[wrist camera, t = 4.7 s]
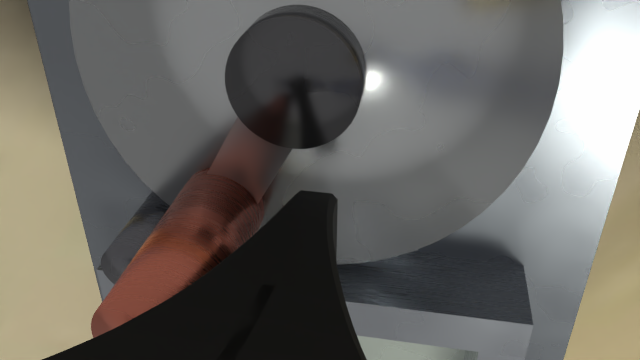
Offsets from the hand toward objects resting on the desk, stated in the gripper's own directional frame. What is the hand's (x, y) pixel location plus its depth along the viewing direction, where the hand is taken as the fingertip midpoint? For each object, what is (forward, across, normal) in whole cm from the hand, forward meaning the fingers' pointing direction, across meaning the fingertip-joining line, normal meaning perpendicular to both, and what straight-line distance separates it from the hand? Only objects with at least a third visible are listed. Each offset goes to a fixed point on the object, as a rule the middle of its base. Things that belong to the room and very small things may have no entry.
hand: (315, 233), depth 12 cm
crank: (+2, 0, -3) cm, 4 cm away
